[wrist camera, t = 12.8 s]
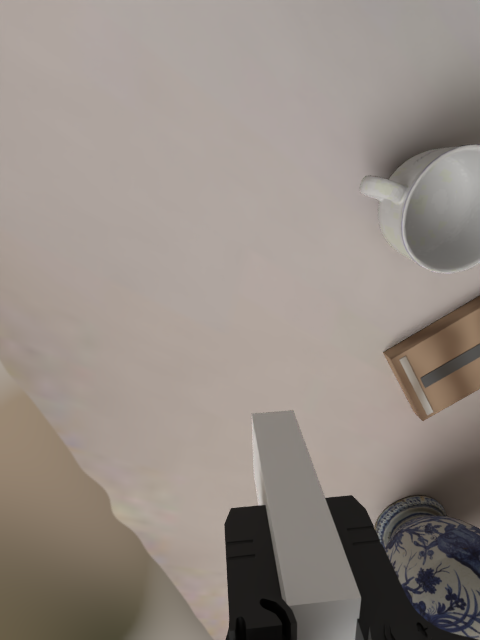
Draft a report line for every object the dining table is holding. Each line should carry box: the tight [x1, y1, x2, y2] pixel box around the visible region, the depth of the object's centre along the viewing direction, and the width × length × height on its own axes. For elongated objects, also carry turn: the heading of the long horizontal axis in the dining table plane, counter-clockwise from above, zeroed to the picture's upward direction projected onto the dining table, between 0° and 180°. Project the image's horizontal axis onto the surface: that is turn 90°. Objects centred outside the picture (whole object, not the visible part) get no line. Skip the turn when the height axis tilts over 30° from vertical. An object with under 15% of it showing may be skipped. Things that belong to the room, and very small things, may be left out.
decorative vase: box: [375, 496, 480, 640], centre depth 43 cm, size 21×19×28 cm
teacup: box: [360, 144, 480, 273], centre depth 37 cm, size 14×11×8 cm
